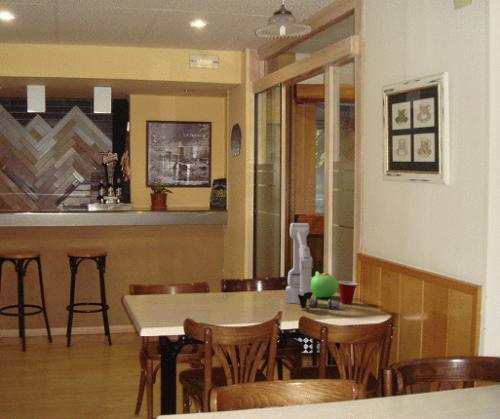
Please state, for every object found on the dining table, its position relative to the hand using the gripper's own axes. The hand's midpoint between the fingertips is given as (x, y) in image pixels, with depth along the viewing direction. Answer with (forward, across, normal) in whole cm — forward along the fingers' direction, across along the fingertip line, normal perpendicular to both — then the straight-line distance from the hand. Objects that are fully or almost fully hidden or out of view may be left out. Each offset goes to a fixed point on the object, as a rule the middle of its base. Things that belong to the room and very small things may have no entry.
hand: (304, 307), depth 377 cm
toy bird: (+2, +41, +1) cm, 41 cm away
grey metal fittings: (+2, +10, -7) cm, 12 cm away
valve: (+2, 0, 0) cm, 2 cm away
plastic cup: (+2, +29, -16) cm, 33 cm away
